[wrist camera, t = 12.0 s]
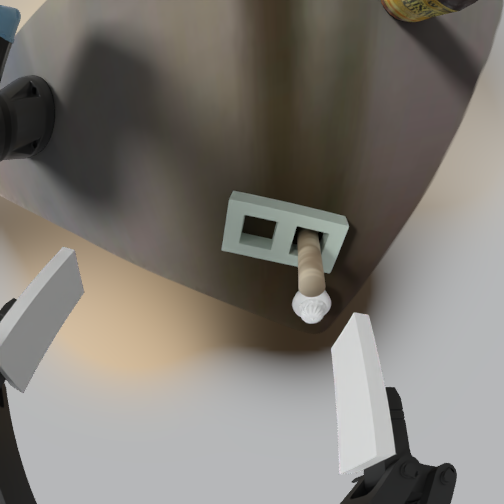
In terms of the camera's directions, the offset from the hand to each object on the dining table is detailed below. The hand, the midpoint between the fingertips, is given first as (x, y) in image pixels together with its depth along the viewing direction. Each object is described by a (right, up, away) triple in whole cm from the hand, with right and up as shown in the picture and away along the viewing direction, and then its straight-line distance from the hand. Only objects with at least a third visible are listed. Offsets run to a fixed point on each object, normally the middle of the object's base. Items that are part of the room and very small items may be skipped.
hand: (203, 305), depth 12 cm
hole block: (+7, +6, +29) cm, 30 cm away
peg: (+10, +5, +29) cm, 31 cm away
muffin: (+12, -4, +34) cm, 37 cm away
